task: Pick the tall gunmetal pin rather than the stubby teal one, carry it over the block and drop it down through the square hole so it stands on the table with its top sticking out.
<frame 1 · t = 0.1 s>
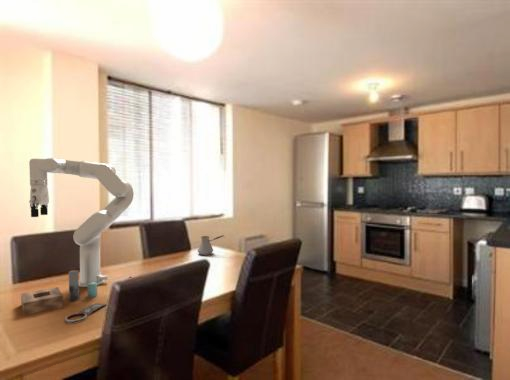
hand: (39, 215, 168), 37 cm above the table, tool pointing down, fingers open, 9 cm apart
coffee pot: (211, 254, 239), on the table
grey ring with handle: (86, 315, 135), on the table
hole block: (42, 305, 143), on the table
tall pin: (74, 299, 151), on the table
short pin: (92, 296, 155), on the table
onion: (130, 292, 160), on the table
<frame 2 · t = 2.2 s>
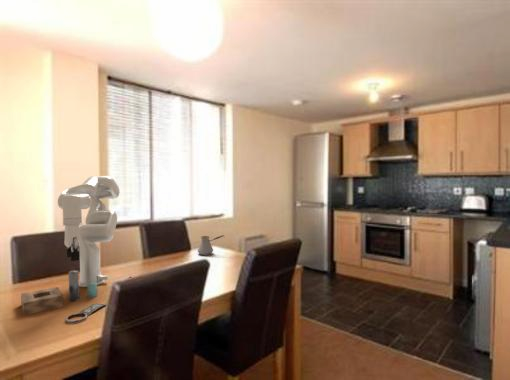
hand: (73, 258, 150), 19 cm above the table, tool pointing down, fingers open, 9 cm apart
nothing on the table moved.
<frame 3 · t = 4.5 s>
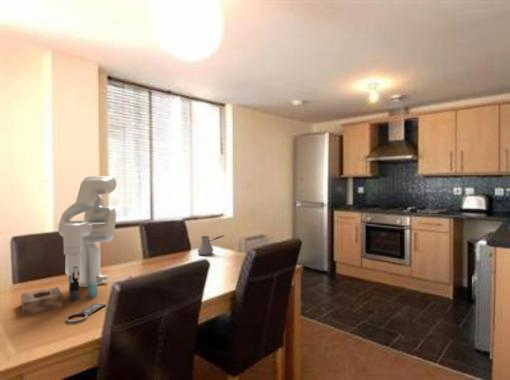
hand: (73, 289, 151), 5 cm above the table, tool pointing down, fingers closed on tall pin, 4 cm apart
tall pin: (74, 299, 151), on the table, touching gripper
everything else where it was.
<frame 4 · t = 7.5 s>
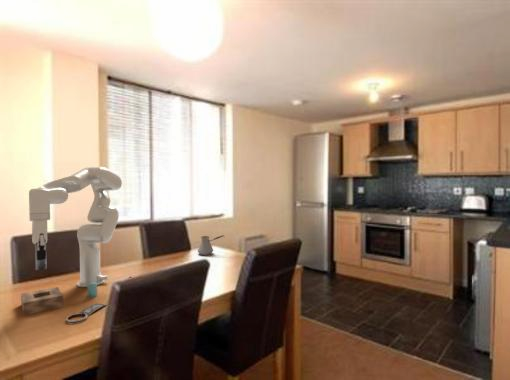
hand: (40, 258, 142), 21 cm above the table, tool pointing down, fingers closed on tall pin, 4 cm apart
tall pin: (41, 268, 143), point 16 cm above the table, touching gripper
everything else where it was.
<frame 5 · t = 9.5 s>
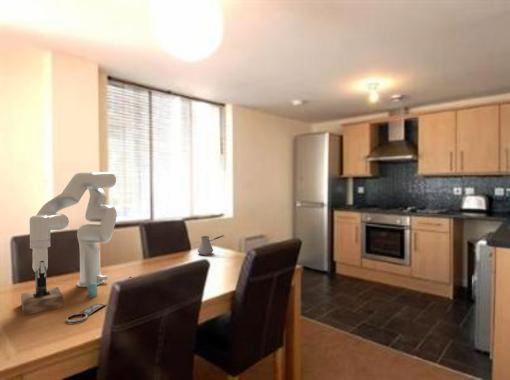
hand: (41, 284, 143), 9 cm above the table, tool pointing down, fingers closed on tall pin, 4 cm apart
tall pin: (41, 295, 143), point 5 cm above the table, touching gripper
everything else where it was.
when the fingers open (7 cm above the table, at t = 10.8 s): tall pin drops 2 cm, resting in hole block.
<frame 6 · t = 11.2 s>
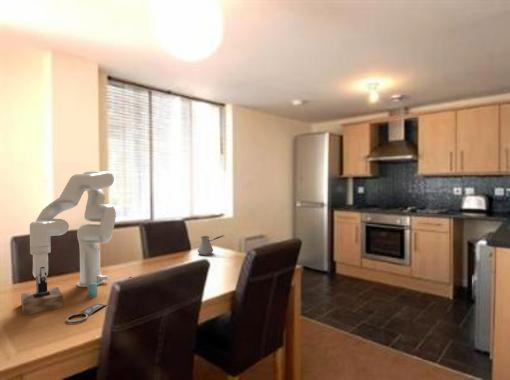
hand: (41, 289, 143), 7 cm above the table, tool pointing down, fingers open, 7 cm apart
tall pin: (42, 305, 143), resting in hole block
everything else where it was.
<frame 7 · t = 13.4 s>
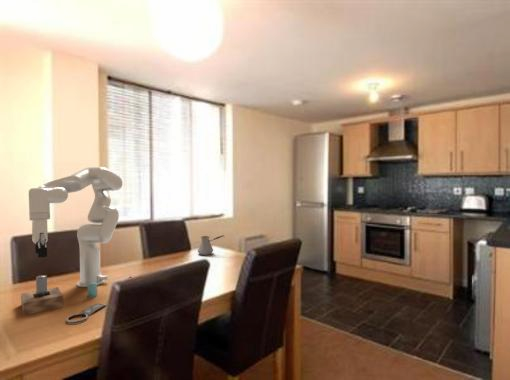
hand: (41, 254, 143), 22 cm above the table, tool pointing down, fingers open, 9 cm apart
nothing on the table moved.
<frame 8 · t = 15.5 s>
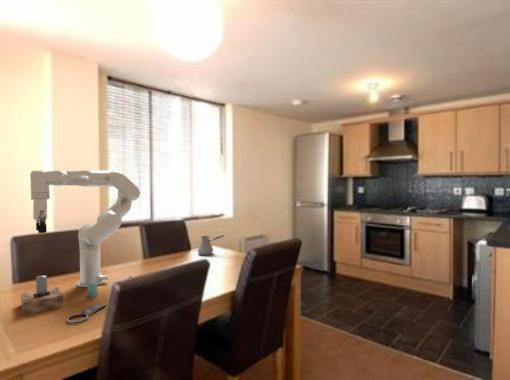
hand: (41, 231, 158), 30 cm above the table, tool pointing down, fingers open, 9 cm apart
at the end: tall pin 0.1 cm off-centre on the hole block, point 0.0 cm above the hole block's base; tall pin tilted 0°; short pin moved 0.0 cm from its start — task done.
